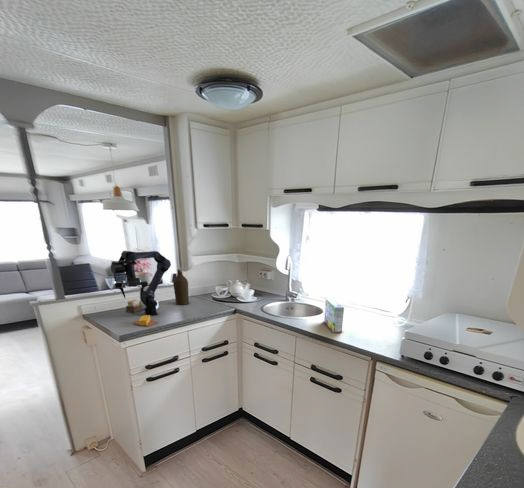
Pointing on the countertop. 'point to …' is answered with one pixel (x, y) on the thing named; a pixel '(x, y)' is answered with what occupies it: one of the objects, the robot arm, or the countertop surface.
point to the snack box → (334, 315)
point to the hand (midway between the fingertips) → (132, 297)
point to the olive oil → (181, 289)
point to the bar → (144, 320)
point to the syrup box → (144, 305)
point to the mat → (147, 324)
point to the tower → (133, 306)
